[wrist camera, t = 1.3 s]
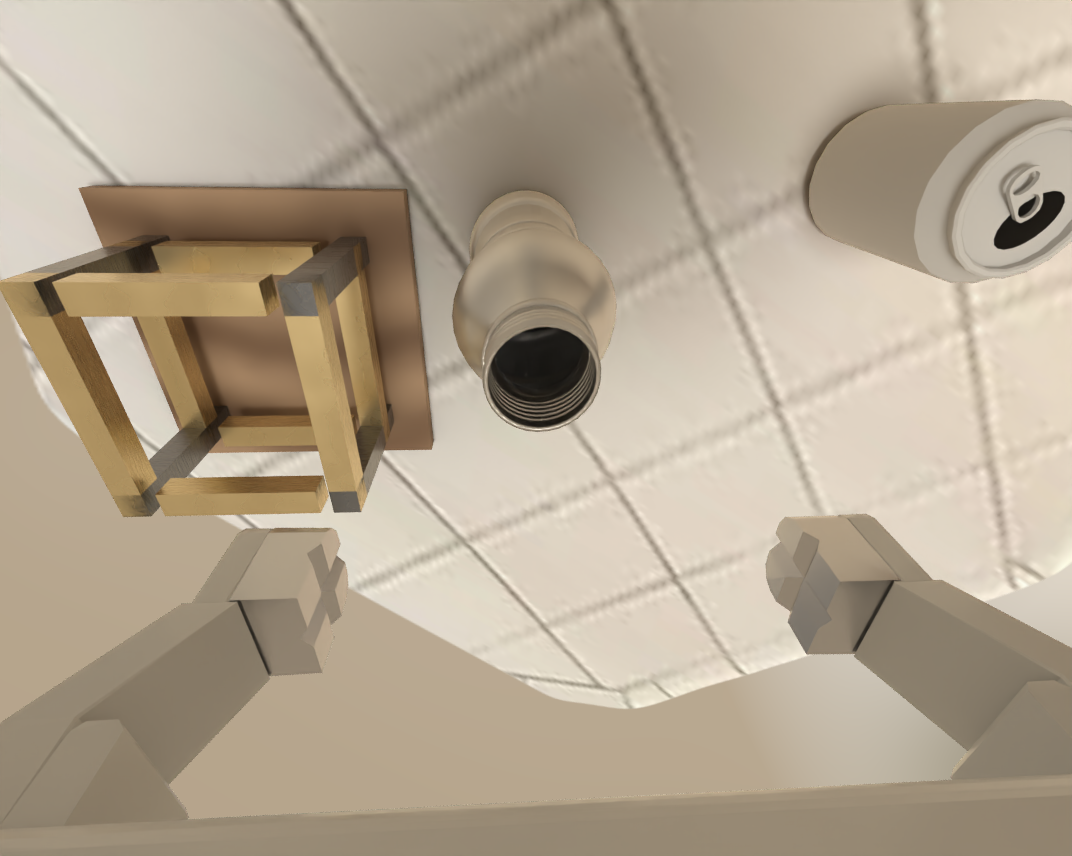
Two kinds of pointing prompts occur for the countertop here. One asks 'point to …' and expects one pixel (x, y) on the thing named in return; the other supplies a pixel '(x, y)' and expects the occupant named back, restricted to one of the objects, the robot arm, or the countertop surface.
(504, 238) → the plastic bottle
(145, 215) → the walnut board
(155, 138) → the countertop surface
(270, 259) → the frame
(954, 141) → the can
